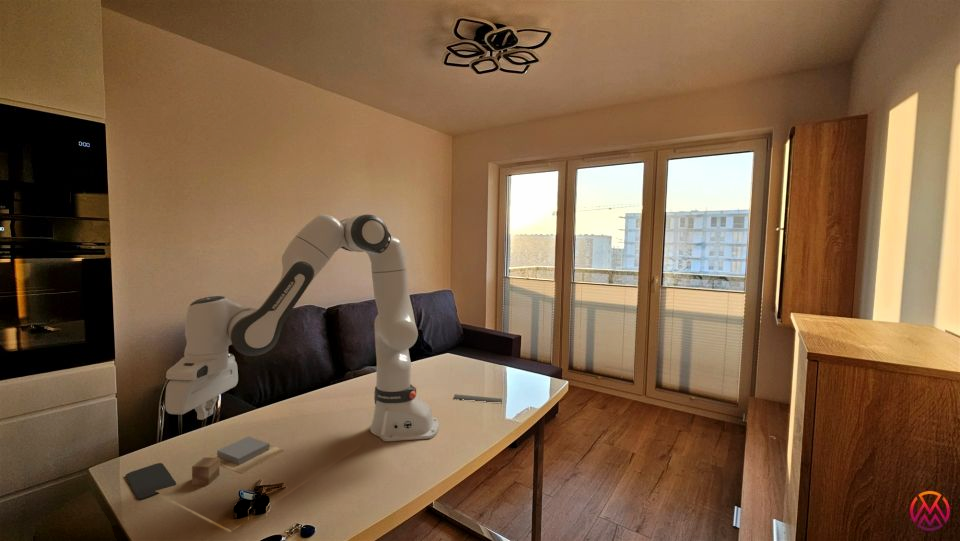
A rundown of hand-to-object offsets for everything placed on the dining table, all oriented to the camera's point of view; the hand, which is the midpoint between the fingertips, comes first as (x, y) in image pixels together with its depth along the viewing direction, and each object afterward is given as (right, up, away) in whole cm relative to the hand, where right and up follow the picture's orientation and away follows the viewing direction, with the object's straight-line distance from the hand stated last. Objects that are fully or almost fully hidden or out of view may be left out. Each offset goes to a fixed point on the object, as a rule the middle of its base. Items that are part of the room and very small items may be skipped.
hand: (205, 417), depth 94 cm
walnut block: (0, -16, +1) cm, 16 cm away
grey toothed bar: (+68, -17, +59) cm, 91 cm away
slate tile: (+6, -15, +11) cm, 19 cm away
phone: (-13, -17, 0) cm, 21 cm away
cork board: (+2, -16, +13) cm, 20 cm away
